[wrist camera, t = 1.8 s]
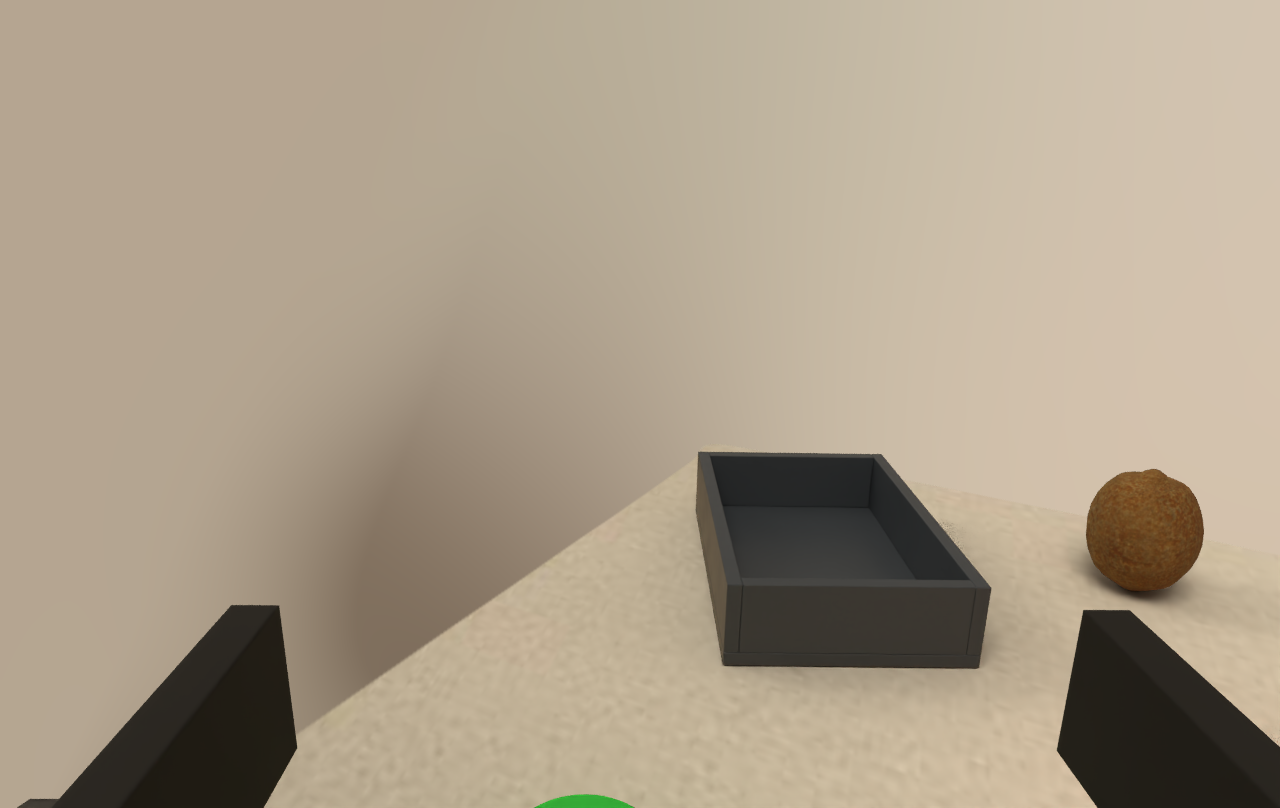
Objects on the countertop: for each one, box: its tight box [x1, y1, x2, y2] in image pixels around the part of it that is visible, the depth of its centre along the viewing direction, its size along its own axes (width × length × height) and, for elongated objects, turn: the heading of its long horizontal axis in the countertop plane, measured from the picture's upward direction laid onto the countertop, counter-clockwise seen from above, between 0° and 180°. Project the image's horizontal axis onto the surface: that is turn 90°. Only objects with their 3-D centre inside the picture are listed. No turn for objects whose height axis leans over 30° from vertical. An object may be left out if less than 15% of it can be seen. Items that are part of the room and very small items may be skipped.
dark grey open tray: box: [696, 452, 991, 668], centre depth 52 cm, size 14×20×5 cm
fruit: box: [1086, 469, 1204, 591], centre depth 51 cm, size 6×6×8 cm
